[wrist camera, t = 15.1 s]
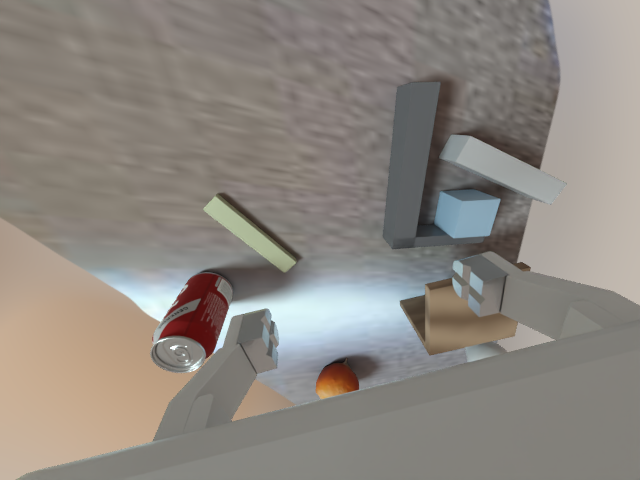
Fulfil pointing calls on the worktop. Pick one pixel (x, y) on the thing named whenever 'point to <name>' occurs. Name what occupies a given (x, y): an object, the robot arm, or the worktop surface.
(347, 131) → the worktop surface
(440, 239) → the hook tool
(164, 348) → the soda can
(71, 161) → the worktop surface
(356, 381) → the fruit
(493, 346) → the lightbulb
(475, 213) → the block
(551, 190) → the grey stick
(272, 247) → the pale green stick
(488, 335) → the shelf
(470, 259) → the robot arm
